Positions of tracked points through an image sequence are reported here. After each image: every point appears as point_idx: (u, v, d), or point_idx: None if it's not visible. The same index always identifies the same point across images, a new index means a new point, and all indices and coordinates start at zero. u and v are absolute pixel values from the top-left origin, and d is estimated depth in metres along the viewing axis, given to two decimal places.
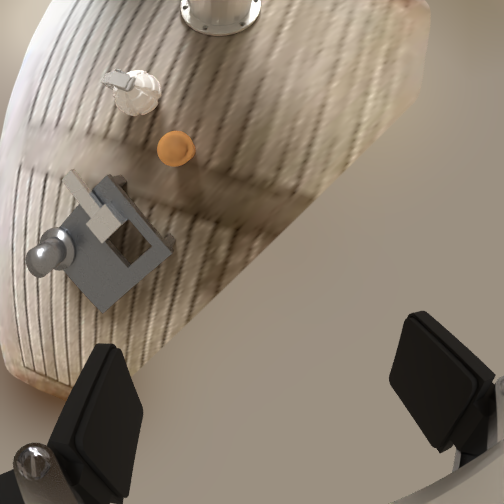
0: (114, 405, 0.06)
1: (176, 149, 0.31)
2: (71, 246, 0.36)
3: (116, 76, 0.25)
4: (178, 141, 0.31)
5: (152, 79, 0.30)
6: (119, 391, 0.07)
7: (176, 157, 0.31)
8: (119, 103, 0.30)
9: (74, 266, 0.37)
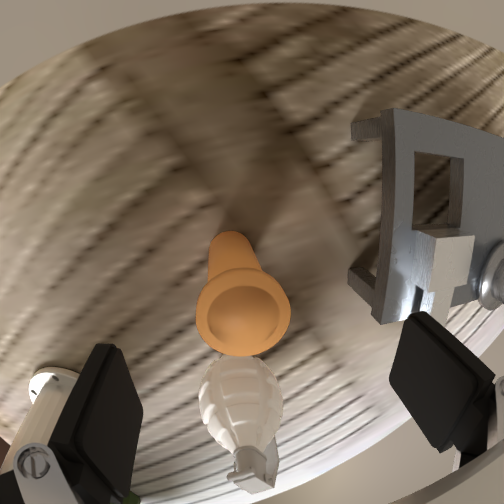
0: (114, 405, 0.06)
1: (243, 314, 0.13)
2: (491, 264, 0.18)
3: (254, 489, 0.13)
4: (225, 328, 0.13)
5: (204, 417, 0.18)
6: (119, 391, 0.07)
7: (253, 298, 0.12)
8: (277, 421, 0.17)
9: (503, 233, 0.18)
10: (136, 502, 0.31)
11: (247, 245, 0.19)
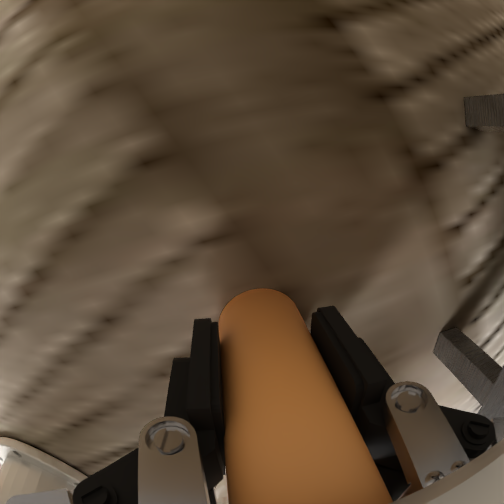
0: None
1: None
2: None
3: None
4: None
5: None
6: (220, 362, 0.08)
7: None
8: None
9: None
10: None
11: (306, 337, 0.08)
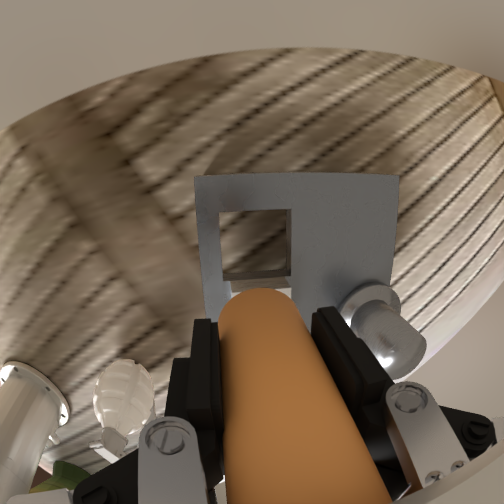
0: None
1: None
2: (345, 309, 0.22)
3: (110, 459, 0.18)
4: None
5: (94, 404, 0.23)
6: (220, 361, 0.08)
7: None
8: (138, 415, 0.22)
9: (370, 275, 0.23)
10: None
11: (306, 337, 0.08)
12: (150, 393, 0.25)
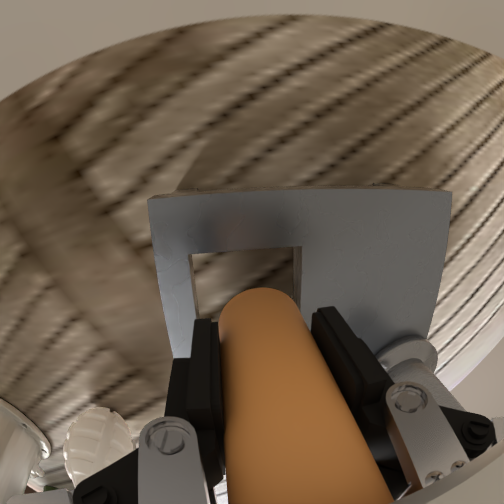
0: None
1: None
2: None
3: None
4: None
5: (65, 459, 0.16)
6: (220, 361, 0.08)
7: None
8: None
9: (405, 329, 0.15)
10: None
11: (307, 337, 0.08)
12: (127, 451, 0.18)
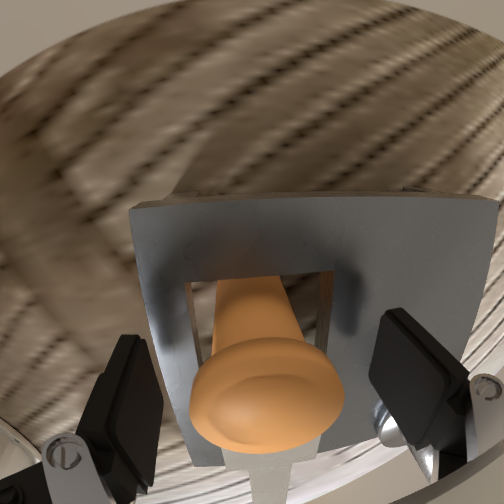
0: (141, 394, 0.07)
1: (267, 410, 0.07)
2: None
3: None
4: (238, 426, 0.07)
5: None
6: (144, 380, 0.07)
7: (286, 390, 0.07)
8: None
9: None
10: None
11: None
12: None
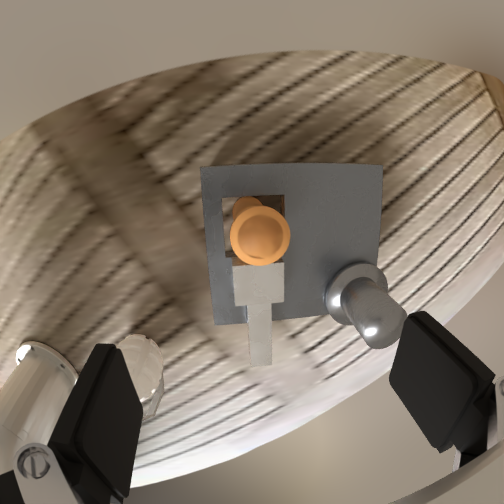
0: (114, 405, 0.06)
1: (260, 234, 0.20)
2: (334, 285, 0.25)
3: None
4: (249, 244, 0.20)
5: None
6: (119, 391, 0.07)
7: (266, 223, 0.20)
8: (147, 383, 0.26)
9: (357, 255, 0.25)
10: None
11: (261, 203, 0.27)
12: (159, 364, 0.29)
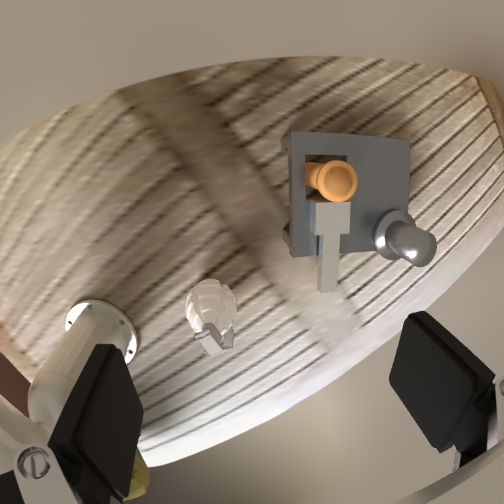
0: (114, 405, 0.06)
1: (338, 179, 0.27)
2: (381, 225, 0.32)
3: (211, 349, 0.28)
4: (331, 185, 0.28)
5: (187, 313, 0.33)
6: (119, 391, 0.07)
7: (342, 172, 0.27)
8: (230, 315, 0.33)
9: (394, 204, 0.33)
10: None
11: None
12: (235, 302, 0.36)
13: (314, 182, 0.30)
